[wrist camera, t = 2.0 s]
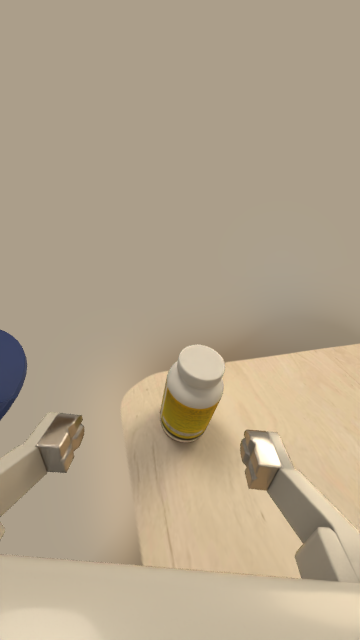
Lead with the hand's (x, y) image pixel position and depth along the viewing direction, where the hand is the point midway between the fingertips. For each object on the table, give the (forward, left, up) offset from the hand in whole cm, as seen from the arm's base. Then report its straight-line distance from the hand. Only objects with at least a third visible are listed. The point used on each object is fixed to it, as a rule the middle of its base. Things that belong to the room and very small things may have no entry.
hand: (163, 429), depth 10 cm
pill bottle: (+8, +4, -15) cm, 18 cm away
